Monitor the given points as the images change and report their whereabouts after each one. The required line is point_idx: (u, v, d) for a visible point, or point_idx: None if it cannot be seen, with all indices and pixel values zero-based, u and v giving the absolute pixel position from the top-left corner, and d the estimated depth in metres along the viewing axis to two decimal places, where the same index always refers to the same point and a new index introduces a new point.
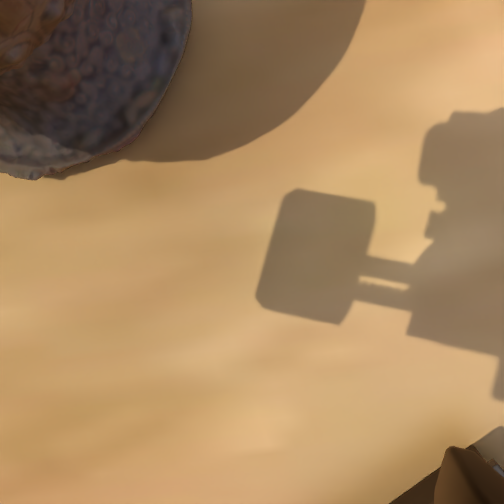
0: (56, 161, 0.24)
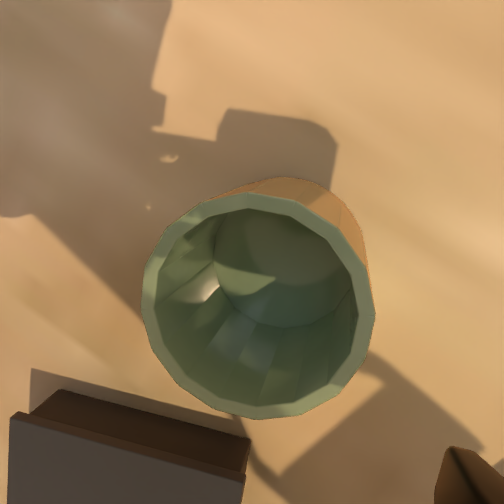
0: None
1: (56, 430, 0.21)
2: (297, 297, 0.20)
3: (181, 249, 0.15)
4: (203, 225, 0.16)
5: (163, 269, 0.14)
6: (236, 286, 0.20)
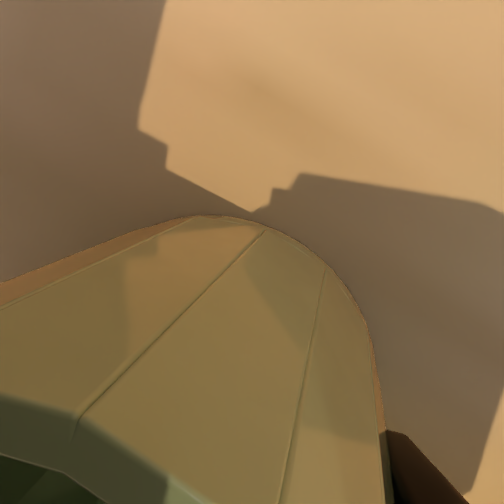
0: None
1: None
2: None
3: None
4: None
5: None
6: None
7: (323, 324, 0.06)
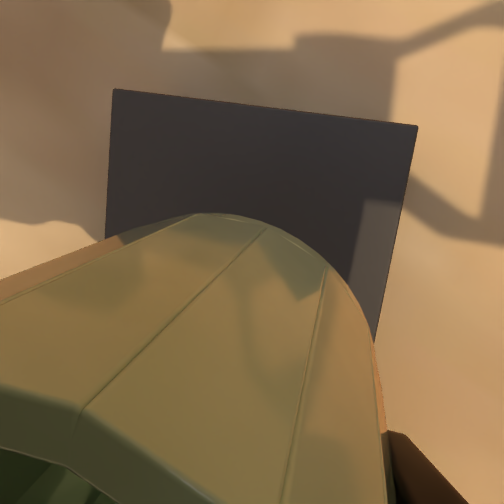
0: None
1: (172, 97, 0.17)
2: None
3: None
4: None
5: None
6: None
7: (324, 321, 0.06)
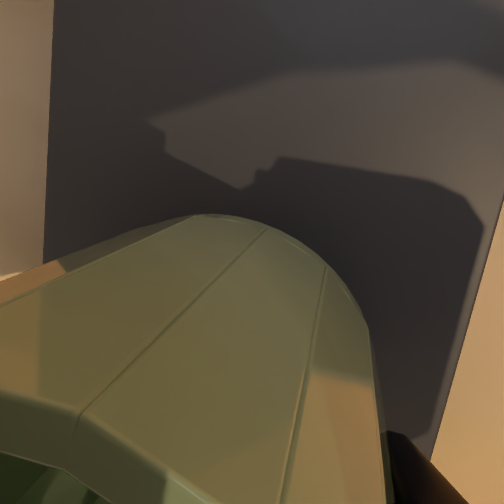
0: None
1: None
2: None
3: None
4: None
5: None
6: None
7: (324, 323, 0.06)
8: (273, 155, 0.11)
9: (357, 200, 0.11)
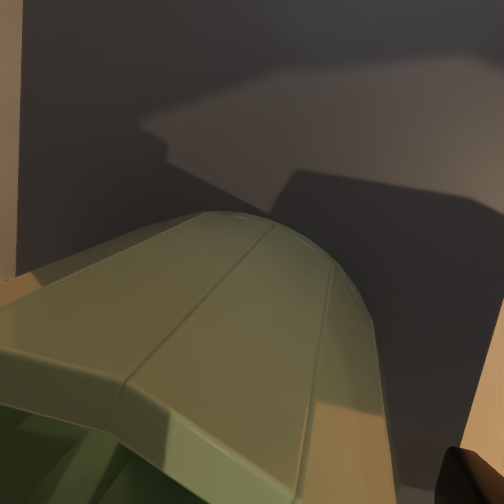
0: None
1: None
2: None
3: None
4: None
5: None
6: None
7: (332, 313, 0.07)
8: (269, 155, 0.10)
9: (364, 206, 0.09)
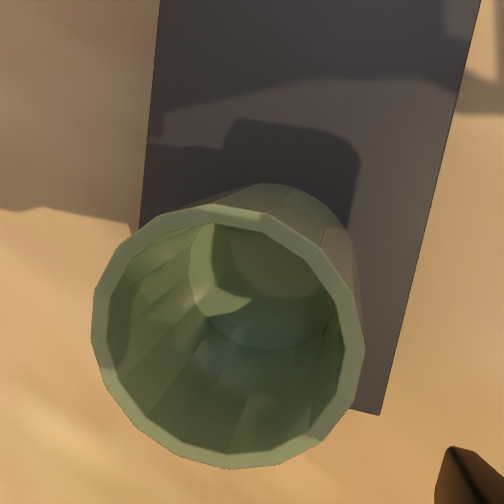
0: None
1: None
2: (282, 317, 0.18)
3: (141, 268, 0.13)
4: (169, 239, 0.14)
5: (117, 293, 0.12)
6: (214, 304, 0.18)
7: (329, 224, 0.14)
8: (294, 151, 0.17)
9: (347, 179, 0.17)
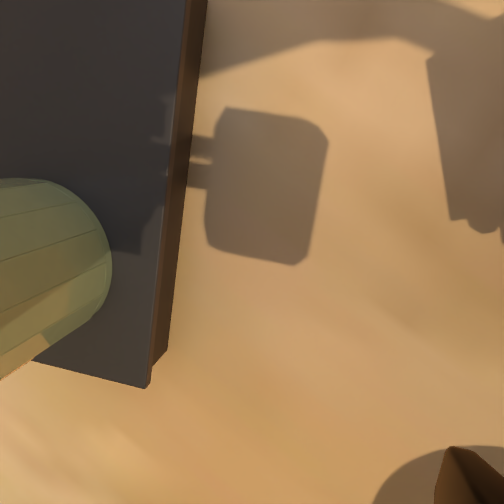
0: None
1: None
2: None
3: None
4: None
5: None
6: None
7: (37, 213, 0.16)
8: (50, 149, 0.19)
9: (95, 174, 0.19)
